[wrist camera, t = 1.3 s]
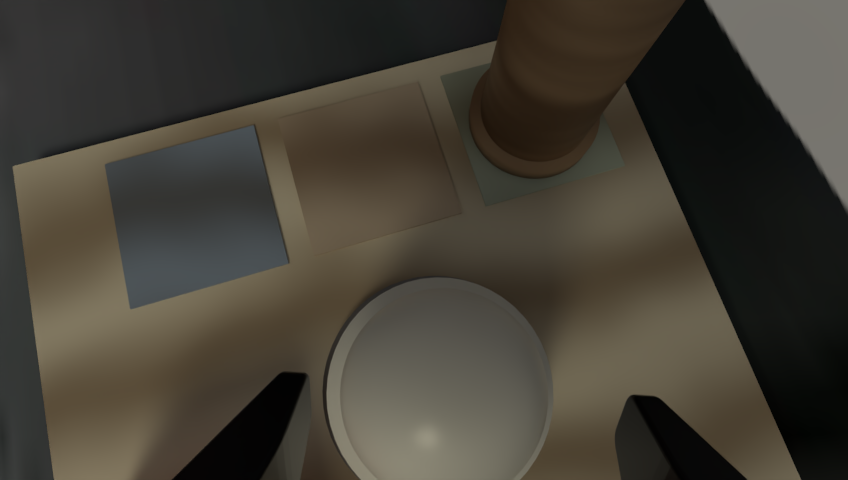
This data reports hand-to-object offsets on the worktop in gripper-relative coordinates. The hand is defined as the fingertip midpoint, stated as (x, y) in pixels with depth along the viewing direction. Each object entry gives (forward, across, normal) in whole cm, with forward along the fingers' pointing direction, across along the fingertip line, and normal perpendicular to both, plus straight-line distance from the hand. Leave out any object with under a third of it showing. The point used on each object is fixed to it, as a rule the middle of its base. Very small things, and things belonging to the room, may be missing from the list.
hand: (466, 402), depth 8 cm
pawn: (+16, -3, 0) cm, 16 cm away
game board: (+11, +2, +7) cm, 13 cm away
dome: (+7, 0, +7) cm, 9 cm away
